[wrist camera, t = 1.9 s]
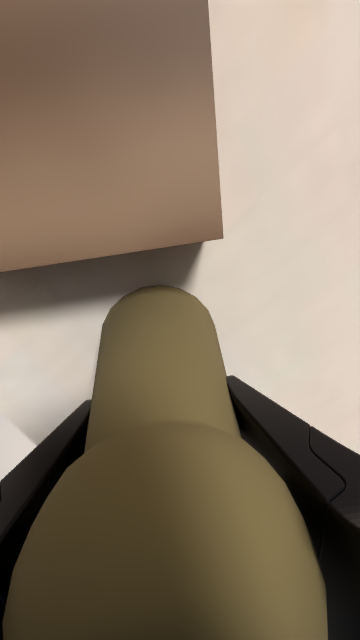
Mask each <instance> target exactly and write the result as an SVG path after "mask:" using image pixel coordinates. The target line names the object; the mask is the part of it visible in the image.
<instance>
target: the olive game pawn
mask: <svg viewBox="0 0 360 640" xmlns="http://www.w3.org/2000/svg"><path fill="white" fill-rule="evenodd" d="M226 376H227V375H226V371H225V367H224V363H223V359H222V354H221V350H220V346H219V342H218V338H217V333H216V329H215V325H214V323H213V320H212V318H211V316H210V314H209V311H208V310H207V308H206V307H205V306H204V305H203V304H202V303H201V302H200V301H199V300H198V299H197V298H196V297H195V296H193V295H191V294H189V293H187V292H185V291H183V290H181V289H179V288H174V287H168V286H162V285H158V286H151V287H143V288H140V289H138V290H136V291H133V292H131V293H129V294H127V295H125V296H123V297H122V298H121V299H120V300H119V301H118V302H117V303H116V304H115V305H114V306H113V307H112V308H111V309H110V311H109V313H108V315H107V317H106V319H105V321H104V323H103V326H102V333H101V340H100V347H99V354H98V361H97V368H96V375H95V382H94V389H93V396H92V403H91V409H90V416H89V423H88V430H87V437H86V444H85V451H84V454H83V455H82V456H81V457H80V458H78V459H77V460H76V461H75V462H74V463H72V464H71V465H70V466H69V467H68V468H67V469H66V470H65V472H64V473H63V475H62V476H61V478H60V479H59V481H58V482H57V484H56V485H55V487H54V488H53V490H52V491H51V492H50V494H49V495H48V497H47V499H46V500H45V502H44V504H43V506H42V508H41V509H40V511H39V513H38V515H37V517H36V519H35V520H34V522H33V524H32V526H31V528H30V530H29V533H28V535H27V538H26V540H25V542H24V545H23V547H22V550H21V552H20V554H19V557H18V559H17V562H16V564H15V566H14V569H13V572H12V577H11V582H10V587H9V592H8V597H7V602H6V607H5V612H4V617H3V622H2V626H3V640H328V625H327V602H326V585H325V581H324V578H323V574H322V571H321V567H320V564H319V560H318V557H317V553H316V550H315V546H314V543H313V540H312V538H311V535H310V533H309V531H308V528H307V526H306V524H305V521H304V519H303V517H302V515H301V513H300V511H299V509H298V507H297V505H296V503H295V501H294V499H293V497H292V495H291V493H290V491H289V490H288V488H287V486H286V484H285V482H284V481H283V480H282V478H281V477H280V476H279V475H278V474H277V472H276V471H275V470H274V469H273V467H272V466H271V465H270V464H269V463H268V461H267V460H266V459H265V458H264V457H263V456H262V455H261V454H260V453H258V452H257V451H256V450H255V449H254V448H253V447H251V446H250V445H249V444H248V443H247V442H246V441H244V440H243V439H241V434H240V430H239V426H238V422H237V418H236V413H235V410H234V407H233V403H232V400H231V397H230V394H229V390H228V387H227V382H226Z"/></svg>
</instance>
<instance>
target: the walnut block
mask: <svg viewBox="0 0 360 640" xmlns="http://www.w3.org/2000/svg"><path fill="white" fill-rule="evenodd" d="M217 239H223V225H222V210H221V194H220V179H219V164H218V149H217V133H216V118H215V103H214V88H213V72H212V57H211V42H210V26H209V11H208V0H0V272H5V271H11V270H18V269H25V268H31V267H38V266H44V265H51V264H58V263H64V262H71V261H78V260H84V259H91V258H97V257H104V256H111V255H117V254H124V253H131V252H137V251H144V250H150V249H157V248H164V247H170V246H177V245H184V244H190V243H197V242H203V241H210V240H217Z"/></svg>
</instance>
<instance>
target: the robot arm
mask: <svg viewBox="0 0 360 640" xmlns="http://www.w3.org/2000/svg"><path fill="white" fill-rule="evenodd" d="M226 382H227V387H228V390H229V394H230V397H231V400H232V403H233V407H234V410H235V413H236V418H237V422H238V426H239V430H240V434H241V439H243V440H244V441H246V442H247V443H248V444H249V445H250V446H251V447H253V448H254V449H255V450H256V451H257V452H258V453H260V454H261V455H262V456H263V457H264V458H265V459H266V460H267V461H268V463H269V464H270V465H271V466H272V467H273V469H274V470H275V471H276V472H277V474H278V475H279V476H280V477H281V478H282V480H283V481H284V482H285V484H286V486H287V488H288V490H289V491H290V493H291V495H292V497H293V499H294V501H295V503H296V505H297V507H298V509H299V511H300V513H301V515H302V517H303V519H304V521H305V524H306V526H307V528H308V531H309V533H310V535H311V538H312V540H313V543H314V546H315V550H316V553H317V557H318V560H319V564H320V567H321V571H322V574H323V578H324V581H325V585H326V602H327V625H328V640H360V455H359V454H358V453H356V452H354V451H352V450H350V449H349V448H347V447H345V446H343V445H342V444H340V443H338V442H337V441H335V440H333V439H332V438H330V437H328V436H327V435H325V434H324V433H322V432H320V431H319V430H317V429H316V428H314V427H313V426H311V427H310V425H309V424H308V423H306V422H305V421H303V420H302V419H300V418H299V417H297V416H295V415H294V414H292V413H291V412H289V411H288V410H286V409H285V408H283V407H281V406H280V405H278V404H277V403H275V402H274V401H272V400H271V399H269V398H268V397H266V396H264V395H263V394H261V393H260V392H258V391H257V390H255V389H254V388H252V387H250V386H249V385H247V384H246V383H244V382H243V381H241V380H240V379H238V378H237V377H235V376H233V375H231V376H226ZM91 403H92V400H86V401H84V402H83V403H82V404H81V405H80V406H79V407H78V408H77V409H76V410H75V411H74V412H73V413H72V414H71V415H70V416H69V417H67V418H66V419H65V420H64V421H63V422H62V423H61V424H60V425H59V426H58V427H57V428H56V429H55V430H54V431H53V432H52V433H51V434H50V435H49V436H47V437H46V438H45V439H44V440H43V441H42V442H41V443H40V444H39V445H38V446H37V447H36V448H35V449H34V450H33V451H32V452H31V453H30V454H28V456H27V457H25V458H24V459H23V460H22V461H21V462H20V463H19V464H18V465H17V466H16V467H15V468H14V469H13V470H12V471H11V472H9V473H8V475H6V476H5V477H4V478H3V479H2V480H1V482H0V640H3V626H2V622H3V617H4V612H5V607H6V602H7V597H8V592H9V587H10V582H11V577H12V572H13V569H14V566H15V564H16V562H17V559H18V557H19V554H20V552H21V550H22V547H23V545H24V542H25V540H26V538H27V535H28V533H29V530H30V528H31V526H32V524H33V522H34V520H35V519H36V517H37V515H38V513H39V511H40V509H41V508H42V506H43V504H44V502H45V500H46V499H47V497H48V495H49V494H50V492H51V491H52V490H53V488H54V487H55V485H56V484H57V482H58V481H59V479H60V478H61V476H62V475H63V473H64V472H65V470H66V469H67V468H68V467H69V466H70V465H71V464H72V463H74V462H75V461H76V460H77V459H78V458H80V457H81V456H82V455H83V454H84V451H85V444H86V437H87V430H88V423H89V416H90V409H91Z"/></svg>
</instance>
